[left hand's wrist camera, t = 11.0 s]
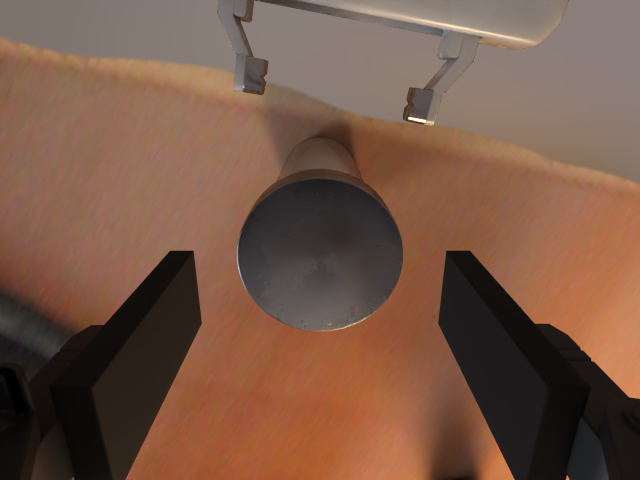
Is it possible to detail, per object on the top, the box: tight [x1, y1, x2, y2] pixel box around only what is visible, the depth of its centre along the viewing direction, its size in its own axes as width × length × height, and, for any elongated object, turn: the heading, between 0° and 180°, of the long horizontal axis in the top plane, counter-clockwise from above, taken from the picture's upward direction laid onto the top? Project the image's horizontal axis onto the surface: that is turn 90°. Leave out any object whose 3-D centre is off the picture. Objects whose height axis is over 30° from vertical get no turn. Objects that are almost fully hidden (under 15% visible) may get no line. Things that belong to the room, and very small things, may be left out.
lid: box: [237, 169, 403, 331], centre depth 17 cm, size 6×6×2 cm
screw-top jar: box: [276, 137, 364, 182], centre depth 24 cm, size 6×6×16 cm
